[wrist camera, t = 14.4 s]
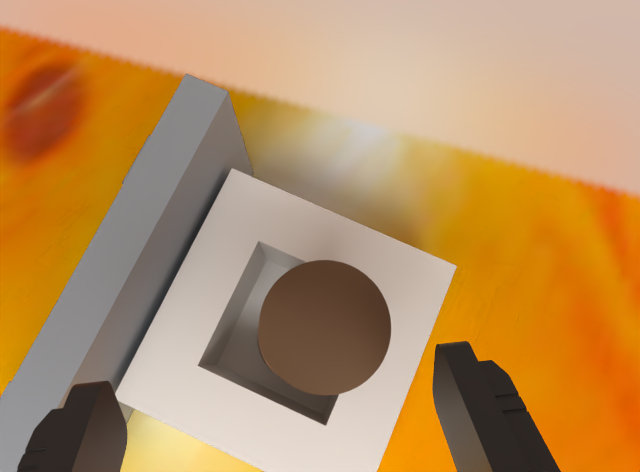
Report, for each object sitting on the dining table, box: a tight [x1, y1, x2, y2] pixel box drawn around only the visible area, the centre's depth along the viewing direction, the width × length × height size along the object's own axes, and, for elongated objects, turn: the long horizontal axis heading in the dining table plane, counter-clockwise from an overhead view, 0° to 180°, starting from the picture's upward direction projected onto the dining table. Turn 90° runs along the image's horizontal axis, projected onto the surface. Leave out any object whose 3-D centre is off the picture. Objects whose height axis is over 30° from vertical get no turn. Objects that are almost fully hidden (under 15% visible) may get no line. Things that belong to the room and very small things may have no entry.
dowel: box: [258, 260, 391, 396], centre depth 23 cm, size 4×4×12 cm
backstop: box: [0, 74, 253, 472], centre depth 25 cm, size 20×5×10 cm, turn 156°
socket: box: [115, 168, 457, 472], centre depth 27 cm, size 12×12×6 cm
